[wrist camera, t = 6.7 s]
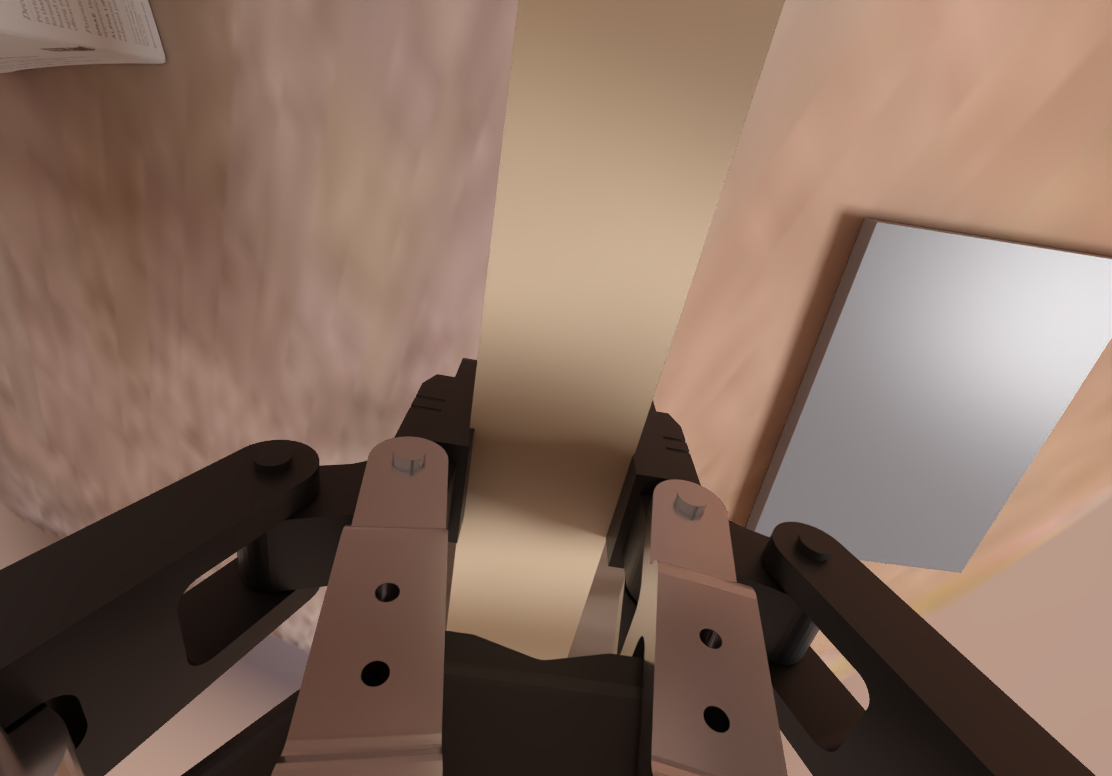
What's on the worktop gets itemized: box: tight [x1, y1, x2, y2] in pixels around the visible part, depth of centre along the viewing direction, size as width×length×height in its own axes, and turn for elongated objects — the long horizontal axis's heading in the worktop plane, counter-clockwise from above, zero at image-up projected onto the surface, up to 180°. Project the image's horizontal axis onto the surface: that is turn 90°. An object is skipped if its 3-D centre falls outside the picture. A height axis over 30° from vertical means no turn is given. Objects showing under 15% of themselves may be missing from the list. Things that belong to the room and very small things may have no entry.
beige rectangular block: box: [445, 0, 785, 660], centre depth 12 cm, size 15×8×5 cm, turn 170°
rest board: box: [745, 218, 1112, 573], centre depth 31 cm, size 20×14×1 cm
